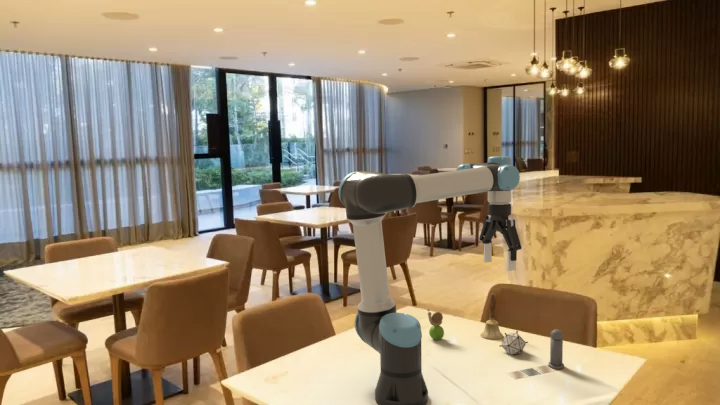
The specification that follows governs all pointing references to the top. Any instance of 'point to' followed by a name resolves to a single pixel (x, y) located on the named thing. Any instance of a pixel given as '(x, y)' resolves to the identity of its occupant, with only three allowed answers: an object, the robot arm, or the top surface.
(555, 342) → the pawn
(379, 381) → the robot arm
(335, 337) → the top surface
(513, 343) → the game die
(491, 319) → the hand bell
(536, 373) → the track
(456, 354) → the top surface
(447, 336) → the top surface
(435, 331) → the snail figurine
